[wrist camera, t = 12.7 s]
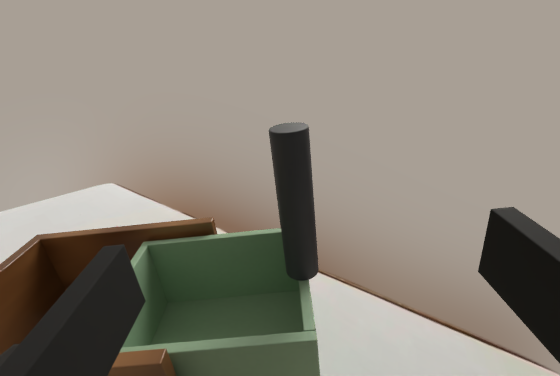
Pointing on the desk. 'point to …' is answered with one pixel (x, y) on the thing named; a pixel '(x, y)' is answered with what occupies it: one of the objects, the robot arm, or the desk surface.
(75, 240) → the wooden drawer casing
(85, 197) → the desk surface
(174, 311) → the green open box
